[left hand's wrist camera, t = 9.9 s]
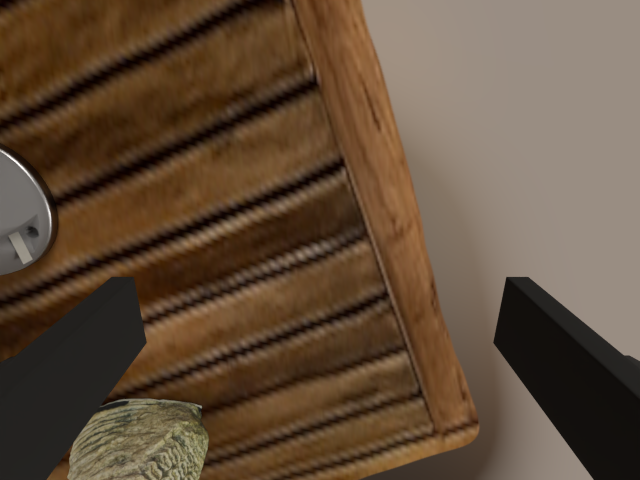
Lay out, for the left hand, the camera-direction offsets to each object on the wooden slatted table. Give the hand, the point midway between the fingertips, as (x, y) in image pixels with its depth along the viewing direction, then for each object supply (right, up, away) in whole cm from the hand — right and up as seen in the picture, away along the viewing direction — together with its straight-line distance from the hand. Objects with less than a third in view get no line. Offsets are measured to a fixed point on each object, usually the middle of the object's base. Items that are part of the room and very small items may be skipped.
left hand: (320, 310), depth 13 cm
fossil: (-23, -22, +38) cm, 50 cm away
